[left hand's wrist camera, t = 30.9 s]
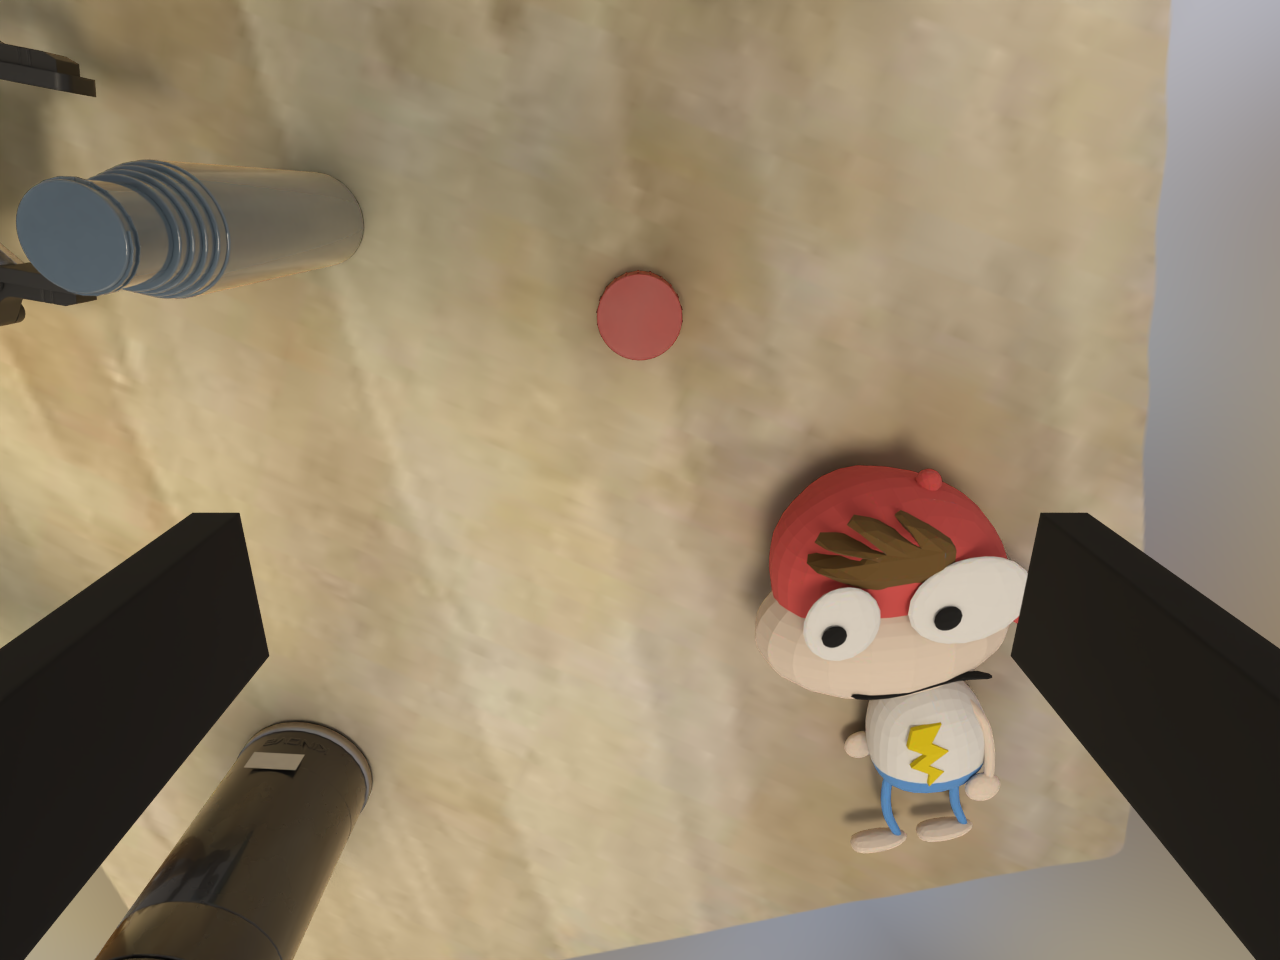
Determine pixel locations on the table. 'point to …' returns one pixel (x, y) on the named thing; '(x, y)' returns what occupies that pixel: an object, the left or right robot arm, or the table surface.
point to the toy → (895, 627)
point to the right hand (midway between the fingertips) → (91, 190)
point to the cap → (639, 315)
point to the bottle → (185, 227)
